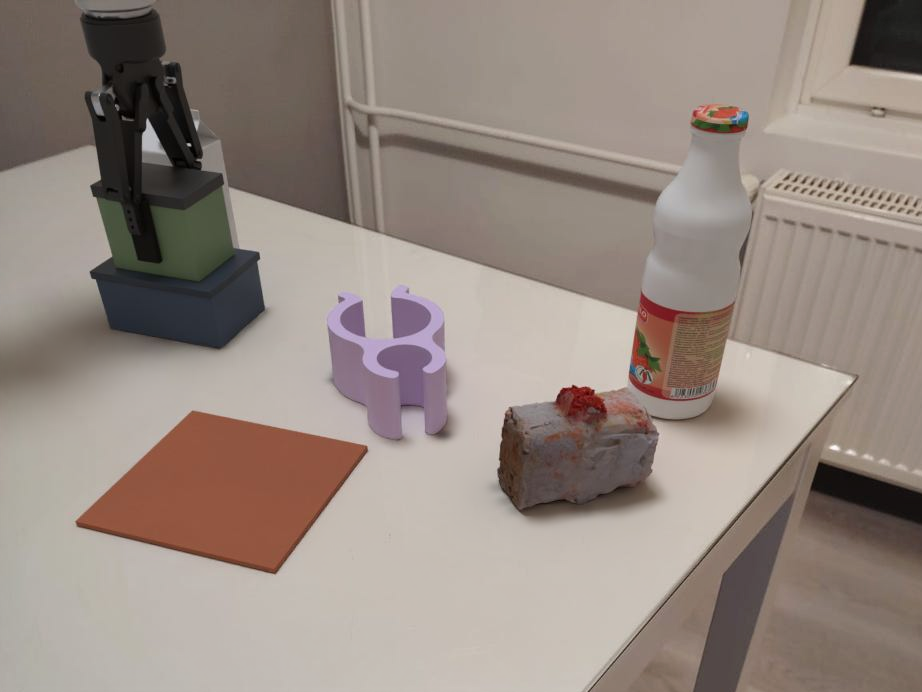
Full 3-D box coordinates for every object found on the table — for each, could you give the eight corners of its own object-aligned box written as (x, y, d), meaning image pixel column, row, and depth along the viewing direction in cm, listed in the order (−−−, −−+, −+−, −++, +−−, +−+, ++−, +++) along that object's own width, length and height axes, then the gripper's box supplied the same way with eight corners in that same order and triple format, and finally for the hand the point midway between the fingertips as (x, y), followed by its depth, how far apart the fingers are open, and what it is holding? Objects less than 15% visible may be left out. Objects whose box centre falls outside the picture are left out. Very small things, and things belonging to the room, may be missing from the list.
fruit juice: (701, 429, 94) (766, 134, 74) (615, 410, 96) (654, 119, 76) (720, 387, 100) (784, 103, 80) (638, 370, 102) (680, 91, 82)
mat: (76, 525, 81) (74, 521, 81) (193, 414, 95) (192, 410, 94) (275, 573, 77) (274, 569, 77) (368, 449, 90) (367, 445, 90)
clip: (473, 428, 93) (474, 367, 88) (355, 445, 91) (349, 383, 86) (428, 339, 107) (426, 282, 102) (323, 352, 104) (316, 294, 99)
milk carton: (196, 252, 124) (163, 96, 110) (242, 259, 122) (214, 102, 108) (167, 272, 119) (129, 112, 105) (214, 281, 117) (181, 119, 104)
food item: (617, 449, 91) (630, 360, 84) (655, 494, 86) (672, 402, 79) (492, 475, 87) (494, 384, 80) (522, 523, 82) (528, 430, 75)
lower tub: (106, 329, 108) (88, 271, 103) (159, 289, 115) (146, 233, 110) (221, 350, 104) (209, 291, 99) (268, 308, 112) (259, 251, 107)
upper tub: (112, 268, 103) (89, 185, 97) (153, 241, 109) (134, 160, 102) (200, 283, 101) (182, 198, 94) (237, 254, 106) (222, 173, 100)
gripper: (84, 37, 79) (149, 287, 96) (208, -9, 94) (246, 216, 110) (14, 29, 81) (88, 277, 97) (146, -14, 95) (192, 208, 111)
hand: (172, 245), depth 104 cm, fingers closed on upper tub, 8 cm apart
